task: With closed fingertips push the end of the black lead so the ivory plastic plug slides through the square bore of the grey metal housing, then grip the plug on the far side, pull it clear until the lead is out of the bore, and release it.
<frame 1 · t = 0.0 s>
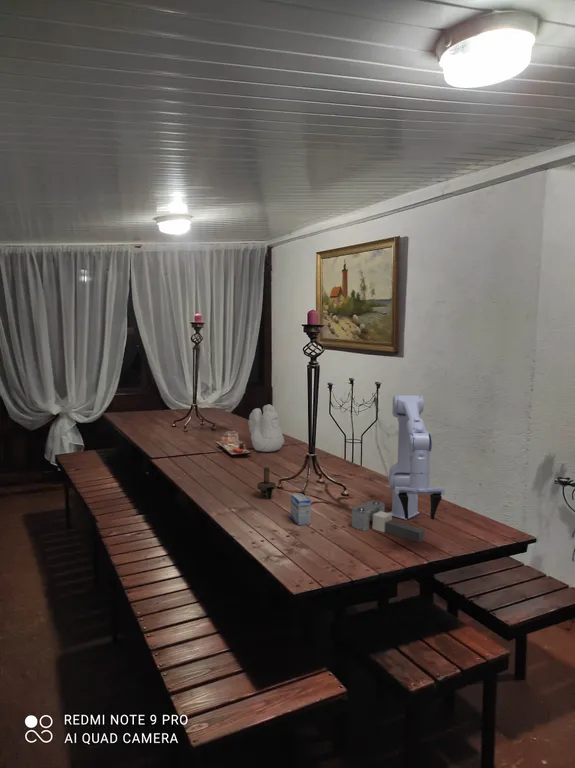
hand: (419, 518, 168), 11 cm above the table, tool pointing down, fingers open, 7 cm apart
housing: (368, 524, 192), on the table
plug: (382, 528, 188), on the table
industrial component: (265, 497, 220), on the table
decorative rooster: (265, 449, 296), on the table
medicine box: (300, 521, 194), on the table
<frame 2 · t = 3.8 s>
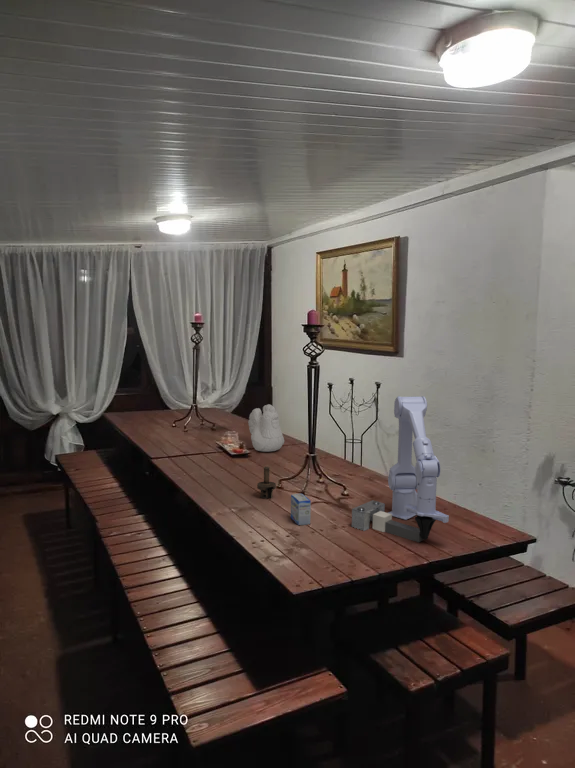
hand: (424, 538, 177), 1 cm above the table, tool pointing down, fingers closed
plug: (382, 528, 188), on the table, touching gripper
everything else where it was.
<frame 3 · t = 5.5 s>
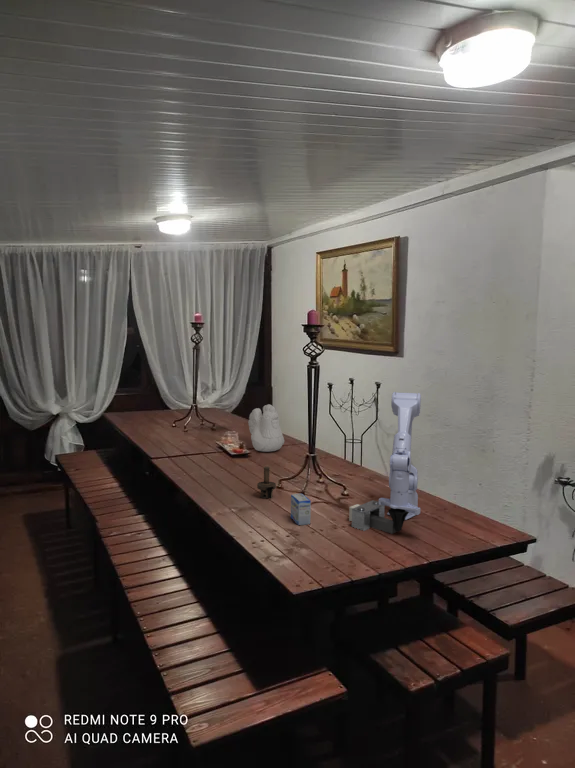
hand: (398, 530, 183), 1 cm above the table, tool pointing down, fingers closed
plug: (358, 521, 194), on the table, touching gripper
everything else where it was.
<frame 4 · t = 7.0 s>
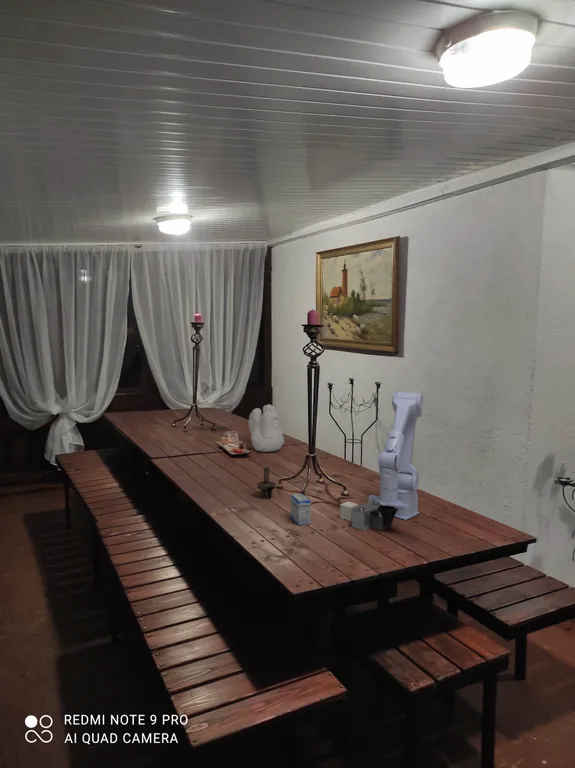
hand: (387, 527, 186), 1 cm above the table, tool pointing down, fingers closed
plug: (349, 518, 197), on the table, touching gripper
everything else where it was.
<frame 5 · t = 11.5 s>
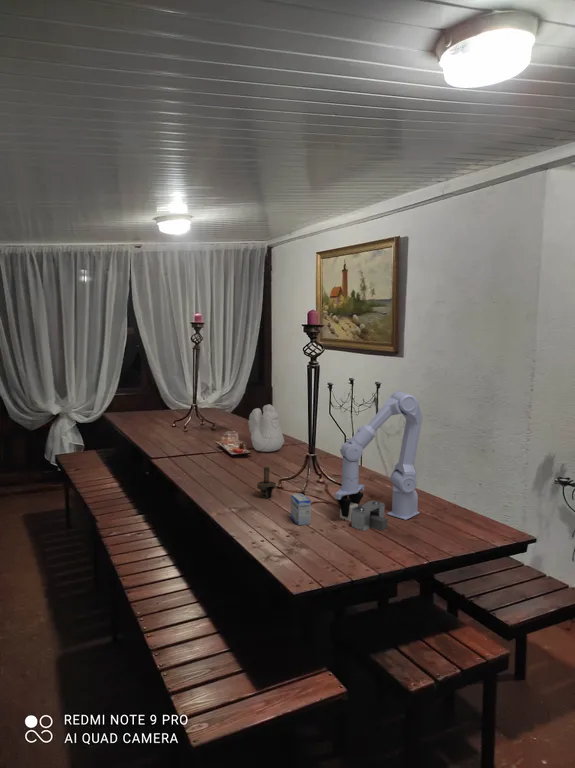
hand: (349, 514, 197), 1 cm above the table, tool pointing down, fingers closed on plug, 4 cm apart
plug: (348, 518, 197), on the table, touching gripper
everything else where it was.
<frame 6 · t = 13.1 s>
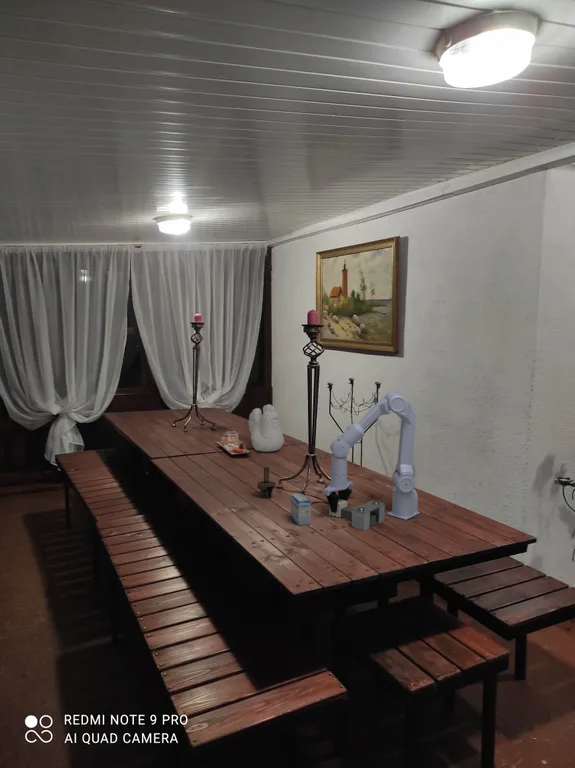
hand: (338, 510, 200), 2 cm above the table, tool pointing down, fingers closed on plug, 4 cm apart
plug: (338, 514, 200), on the table, touching gripper
everything else where it was.
when the fingers open (2 cm above the table, at t = 14.7 s): plug stays where it is, on the table.
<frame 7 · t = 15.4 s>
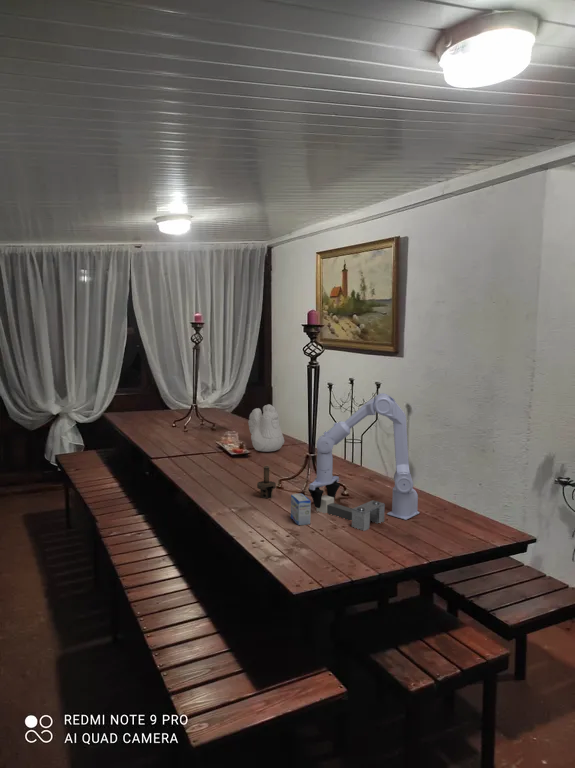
hand: (324, 504, 205), 2 cm above the table, tool pointing down, fingers open, 7 cm apart
plug: (325, 510, 204), on the table
everything else where it was.
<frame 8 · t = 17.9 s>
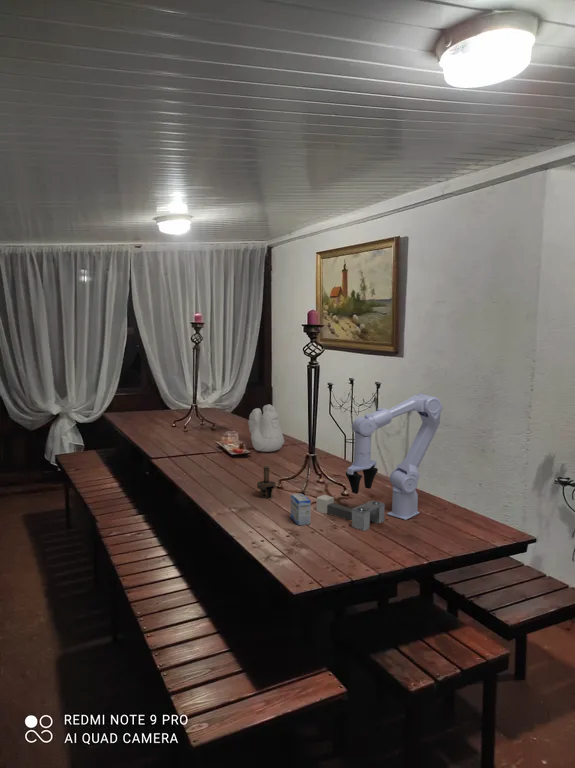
hand: (361, 490, 195), 10 cm above the table, tool pointing down, fingers open, 7 cm apart
nothing on the table moved.
at the end: plug inside the target area (3.1 cm from its centre), on the table; the gripper is holding nothing; plug tilted 0° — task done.
